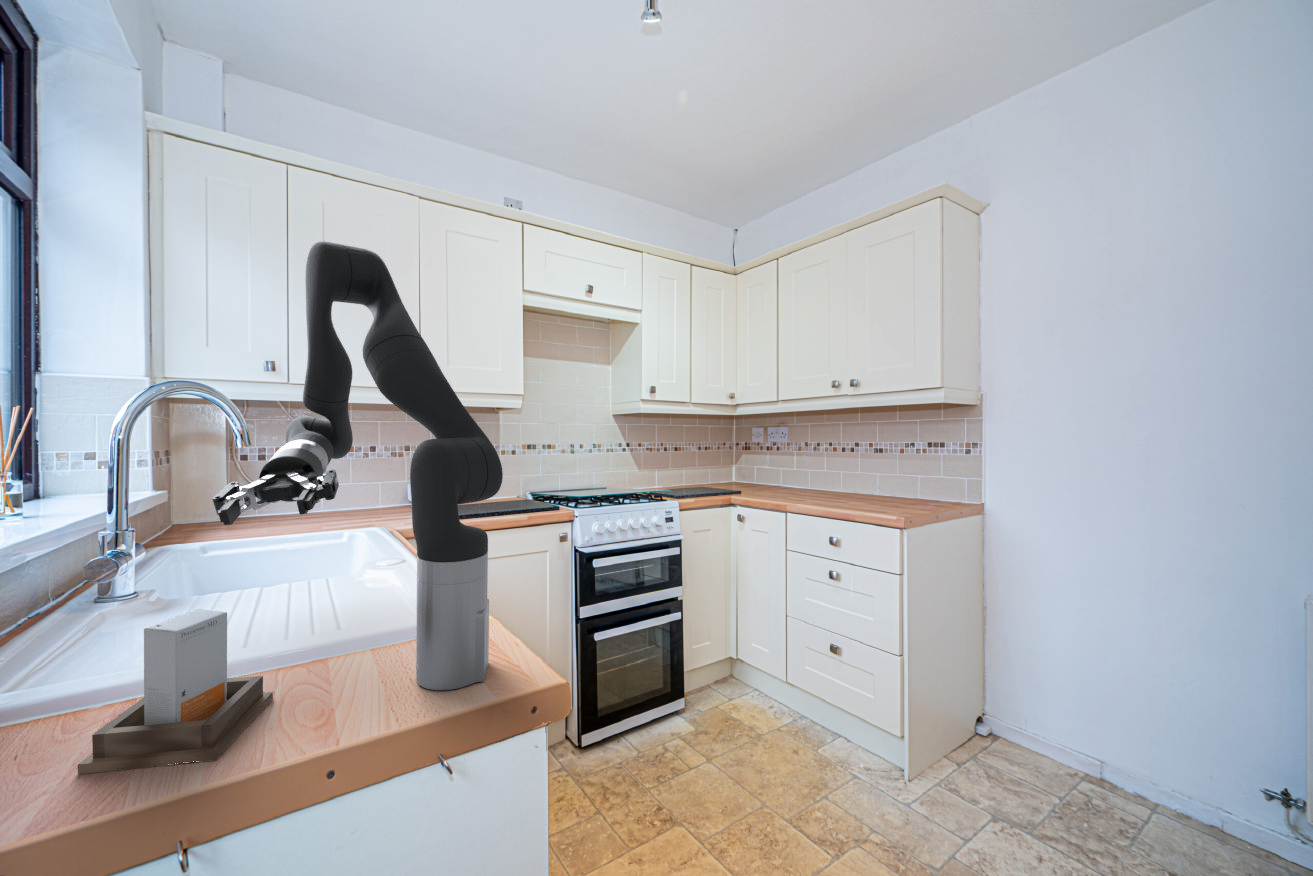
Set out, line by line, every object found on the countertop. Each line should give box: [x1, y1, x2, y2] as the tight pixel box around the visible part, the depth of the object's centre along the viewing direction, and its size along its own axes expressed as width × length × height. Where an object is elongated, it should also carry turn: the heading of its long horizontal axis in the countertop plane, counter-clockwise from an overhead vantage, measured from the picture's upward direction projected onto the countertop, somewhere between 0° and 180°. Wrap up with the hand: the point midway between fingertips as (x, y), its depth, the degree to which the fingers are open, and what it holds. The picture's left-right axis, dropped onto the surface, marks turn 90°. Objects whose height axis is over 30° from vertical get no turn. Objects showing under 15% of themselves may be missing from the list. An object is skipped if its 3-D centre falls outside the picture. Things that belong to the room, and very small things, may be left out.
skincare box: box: [143, 608, 228, 725], centre depth 60 cm, size 6×4×12 cm
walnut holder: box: [77, 675, 274, 775], centre depth 60 cm, size 12×12×4 cm
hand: (264, 513), depth 70 cm, fingers open, 8 cm apart
